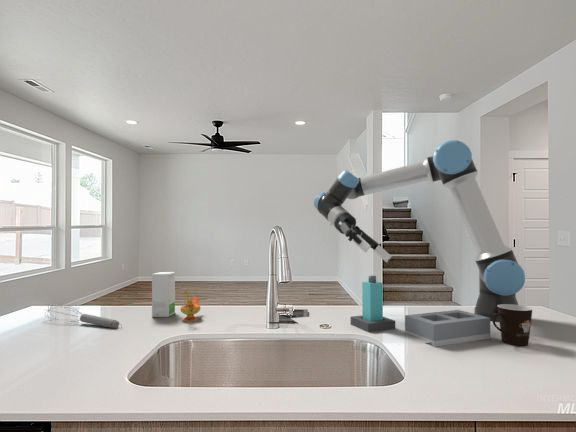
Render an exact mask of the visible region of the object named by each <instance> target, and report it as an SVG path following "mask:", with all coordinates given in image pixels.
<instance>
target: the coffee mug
mask: <svg viewBox="0 0 576 432" xmlns="http://www.w3.org/2000/svg"><path fill="white" fill-rule="evenodd" d="M497 308H498V313H497V314H495V315H494V316H493V320H492V325H493V326H494V327H495V329H497V330H498V331H499V332H500V335H501V342H502V343H503V344H505V345H508V346H512V347H513V346H514V347H528V346H529V342H530V341H529V340H530V333H531V324H532V317H533V316H532V315H533V308H532V307H531V306H527V305H519V304H518V305H512V304H501V305H497ZM498 315H499V321H498V322H499V326H498V325H497V323H496V321H495V318H496V317H497V316H498Z"/></svg>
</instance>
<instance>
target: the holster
mask: <svg viewBox="0 0 576 432" xmlns="http://www.w3.org/2000/svg"><path fill="white" fill-rule="evenodd" d="M350 325H351V326H352V327H353V326H354V327H355V328H358V329H360V330H362V331H364V332H366V333H372V332H373V333H374V332H375V333H376V332H381V331H390V330H391V331H392V330H396V320H394V319H391V318H389V317H386V316H383V320H381V321H371V322H369V321H367V320H364V319H363V314H362V315H354V316H350Z"/></svg>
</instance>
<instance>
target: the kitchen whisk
mask: <svg viewBox="0 0 576 432" xmlns="http://www.w3.org/2000/svg"><path fill="white" fill-rule="evenodd" d="M61 304H63V305H66V306H62V305H59V304H57V302H56V303H51V304H49V305H48V306H47V307H48V308H47V309H44V311H47V313H46V314H47V315H45V317H46V318H48V319H52V320H53V319H54V320H57V319H56V318H57V317H55V318H54V317H49V313H50V315H52V313H51V312H53V313H58V314H63V315H66V316H70V317H77V318H79V319H76V320H77V321H76V320H72V321H73V322H72V323H74V322H79V321H80V322H82V323H85V324H91V325H96V326H98V327H99V326H100V327H105V328H108V327H109V328H108V329H118V328H119V326H121V327H120V329H122V328H123V325H122V324H121V323H120V322H119V321H118V320H116V319H112V318H106V317H103V316H102V317H101V316H97V315H92V314H88V313H82V312H80V311H79V310H77V309H76V308H75V307H72V306H71V305H69V304H67V303H64V302H61ZM54 305H55V306H56V307H53V306H54ZM67 306H69V307H67ZM57 307H61V308H64V309H67V310H69V311H71V312H73V313H75V312H76V314H77V315H80V316H77V315H74V314H69V313H64V312H60V311H55V310H52V309H56V308H57ZM70 307H71V308H70Z"/></svg>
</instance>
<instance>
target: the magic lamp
mask: <svg viewBox="0 0 576 432" xmlns="http://www.w3.org/2000/svg"><path fill="white" fill-rule="evenodd" d="M183 293H184V295H185V298H184V305H183V306H180V312H181V313H182V314H184V315H185V316H186V317H185V318H182V321H185V322H192V321H193V322H194V321H197V320H199V318H198V317H196V316H195V315H196V314H198V313H199V312H200V310H201V305H199V304H200V303H199V301H200V299H199V298H200V295H199V294H196V295H194V297H193V298H192V299H191V298H189V297H190V294H189V291H188V290H185V291H184V292H183Z"/></svg>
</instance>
